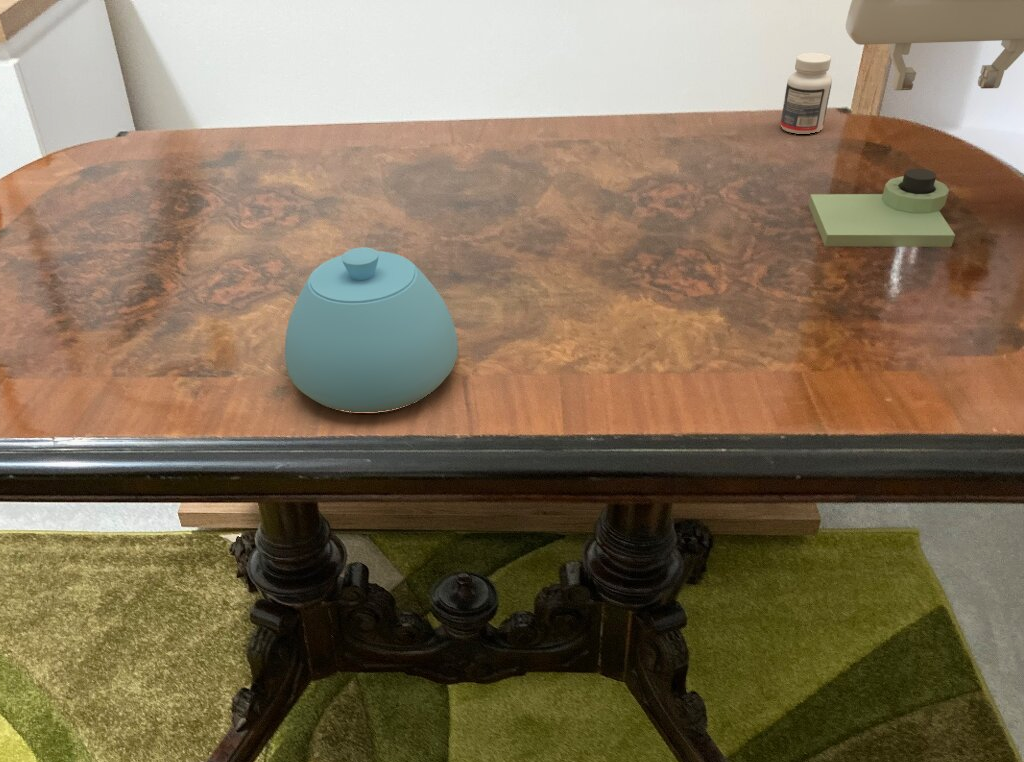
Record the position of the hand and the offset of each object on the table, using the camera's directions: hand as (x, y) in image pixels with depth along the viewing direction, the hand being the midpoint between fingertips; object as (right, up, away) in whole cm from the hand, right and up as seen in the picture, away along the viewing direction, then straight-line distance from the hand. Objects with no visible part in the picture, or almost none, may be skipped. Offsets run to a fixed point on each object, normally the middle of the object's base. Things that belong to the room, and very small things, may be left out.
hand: (944, 87), depth 90 cm
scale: (-4, -12, +6) cm, 14 cm away
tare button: (+1, -8, +6) cm, 10 cm away
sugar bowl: (-55, -29, -9) cm, 63 cm away
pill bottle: (-2, +6, +29) cm, 30 cm away
